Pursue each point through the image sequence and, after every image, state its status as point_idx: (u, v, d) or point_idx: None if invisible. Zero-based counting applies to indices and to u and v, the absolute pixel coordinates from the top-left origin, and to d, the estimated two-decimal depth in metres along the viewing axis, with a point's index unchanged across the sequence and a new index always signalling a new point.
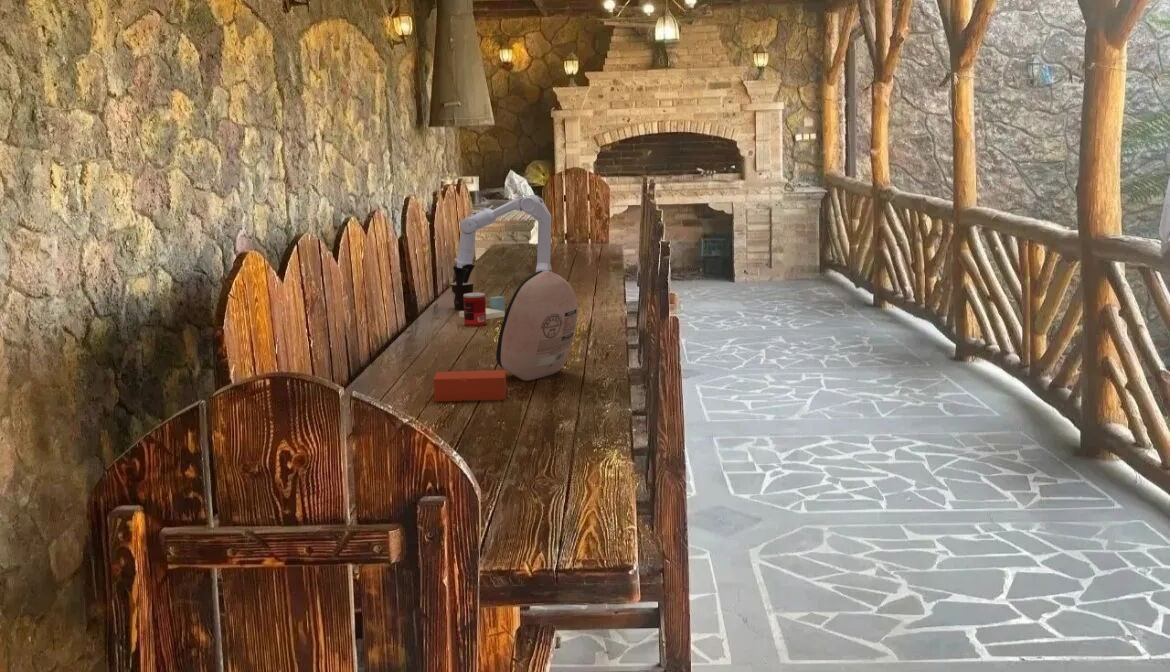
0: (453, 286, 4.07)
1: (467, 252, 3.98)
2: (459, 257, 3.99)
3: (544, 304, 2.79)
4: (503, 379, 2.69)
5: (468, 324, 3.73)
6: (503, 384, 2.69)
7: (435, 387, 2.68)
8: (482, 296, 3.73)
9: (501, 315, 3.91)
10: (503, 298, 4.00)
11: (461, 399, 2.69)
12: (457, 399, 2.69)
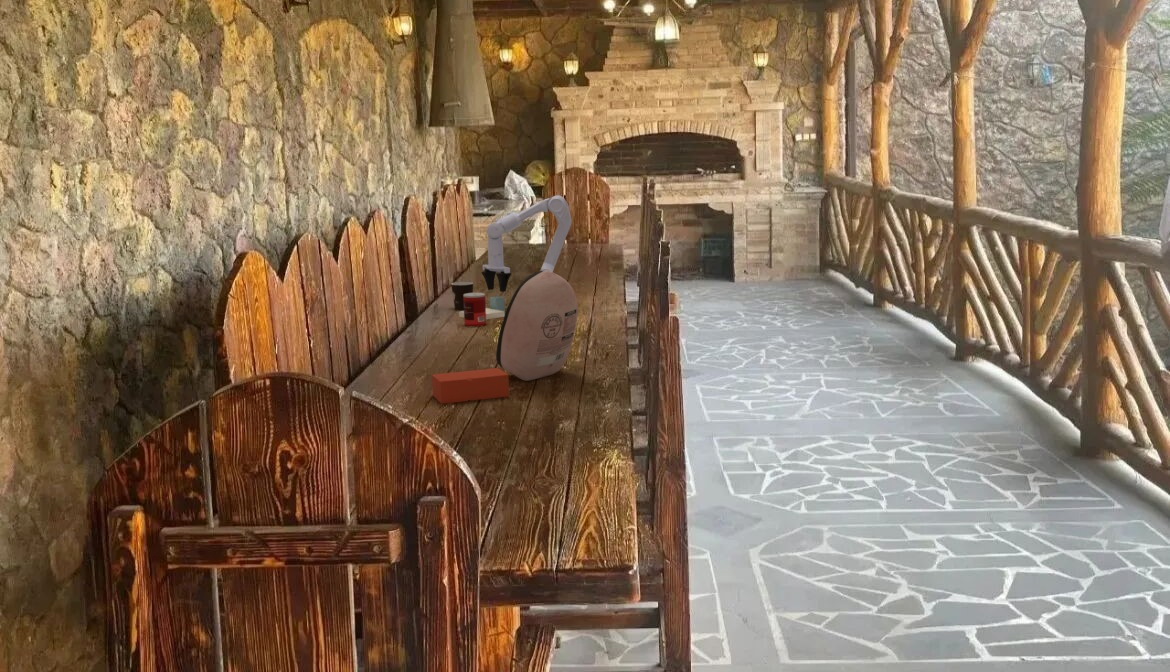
0: (453, 286, 4.07)
1: (502, 257, 3.96)
2: (496, 264, 3.95)
3: (544, 304, 2.79)
4: (507, 376, 2.72)
5: (468, 324, 3.73)
6: (507, 381, 2.72)
7: (442, 389, 2.66)
8: (482, 296, 3.73)
9: (501, 315, 3.91)
10: (503, 298, 4.00)
11: (467, 399, 2.69)
12: (463, 400, 2.68)
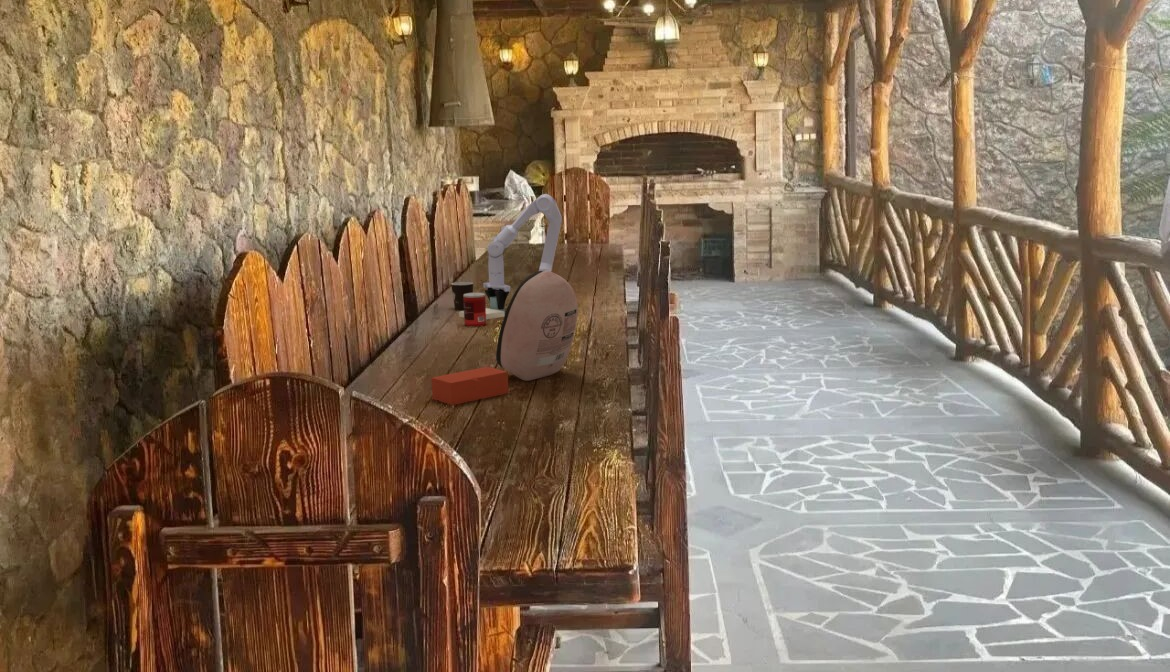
0: (453, 286, 4.07)
1: (503, 275, 3.98)
2: (496, 282, 3.96)
3: (544, 304, 2.79)
4: (507, 373, 2.75)
5: (468, 324, 3.73)
6: (507, 378, 2.76)
7: (452, 391, 2.64)
8: (482, 296, 3.73)
9: (501, 315, 3.91)
10: None
11: (474, 399, 2.69)
12: (471, 399, 2.68)
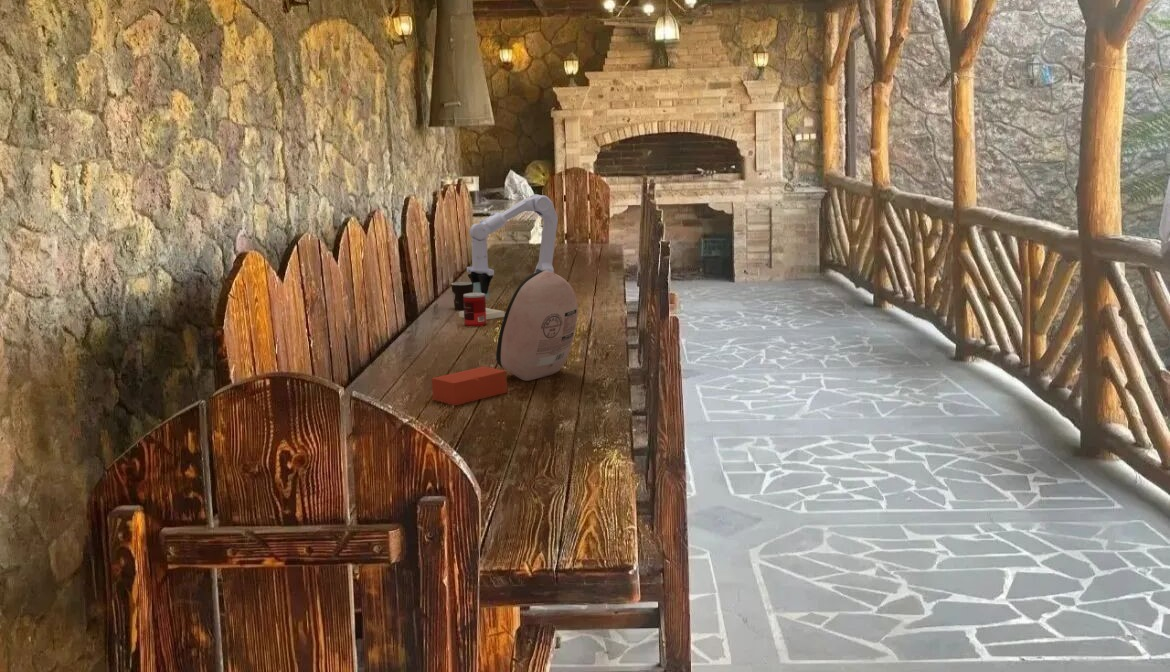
0: (453, 286, 4.07)
1: (486, 258, 3.88)
2: (480, 266, 3.87)
3: (544, 304, 2.79)
4: (506, 372, 2.76)
5: (468, 324, 3.73)
6: (506, 377, 2.77)
7: (456, 391, 2.64)
8: (482, 296, 3.73)
9: (501, 315, 3.91)
10: None
11: (475, 399, 2.69)
12: (473, 399, 2.69)
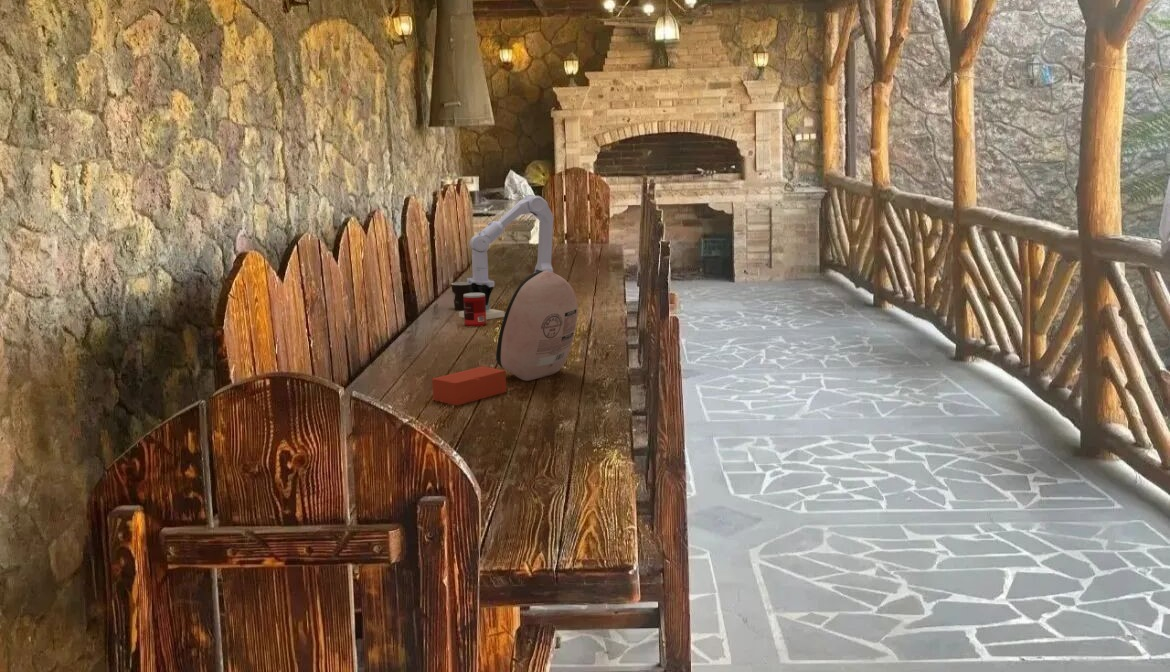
0: (453, 286, 4.07)
1: (487, 270, 3.89)
2: (480, 277, 3.87)
3: (544, 304, 2.79)
4: (505, 372, 2.77)
5: (468, 324, 3.73)
6: (505, 377, 2.77)
7: (457, 391, 2.64)
8: (482, 296, 3.73)
9: (501, 315, 3.91)
10: None
11: (476, 398, 2.69)
12: (473, 399, 2.69)
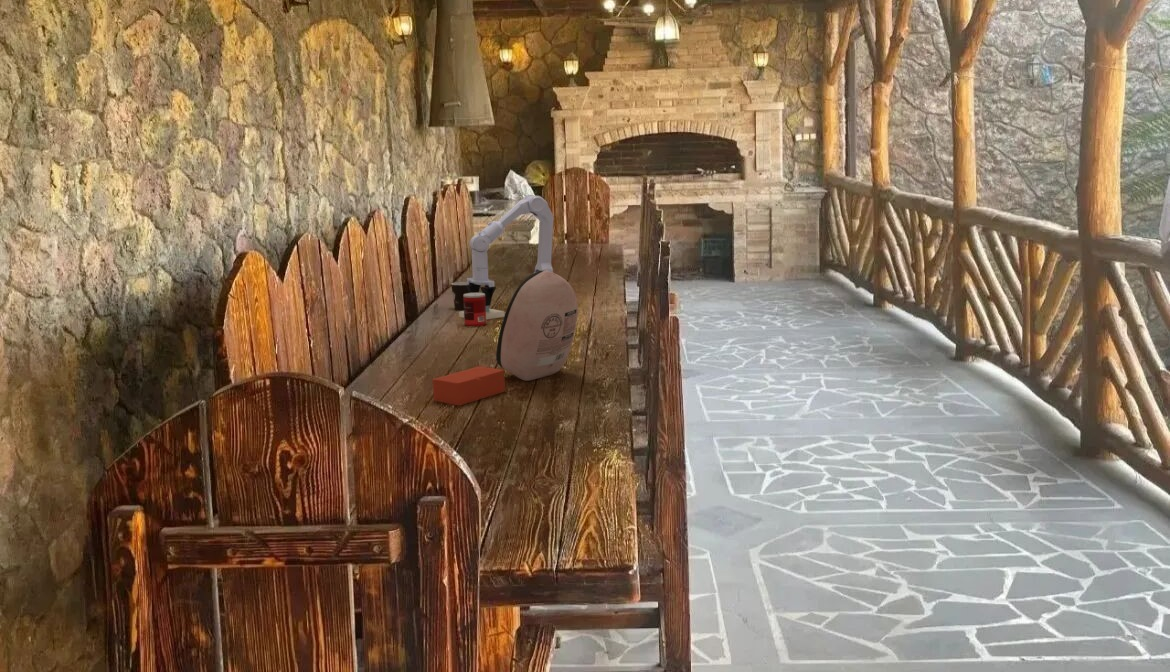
0: (453, 286, 4.07)
1: (487, 270, 3.89)
2: (480, 277, 3.87)
3: (544, 304, 2.79)
4: (504, 371, 2.77)
5: (468, 324, 3.73)
6: (504, 376, 2.78)
7: (459, 391, 2.64)
8: (482, 296, 3.73)
9: (501, 315, 3.91)
10: None
11: (477, 398, 2.70)
12: (475, 399, 2.69)
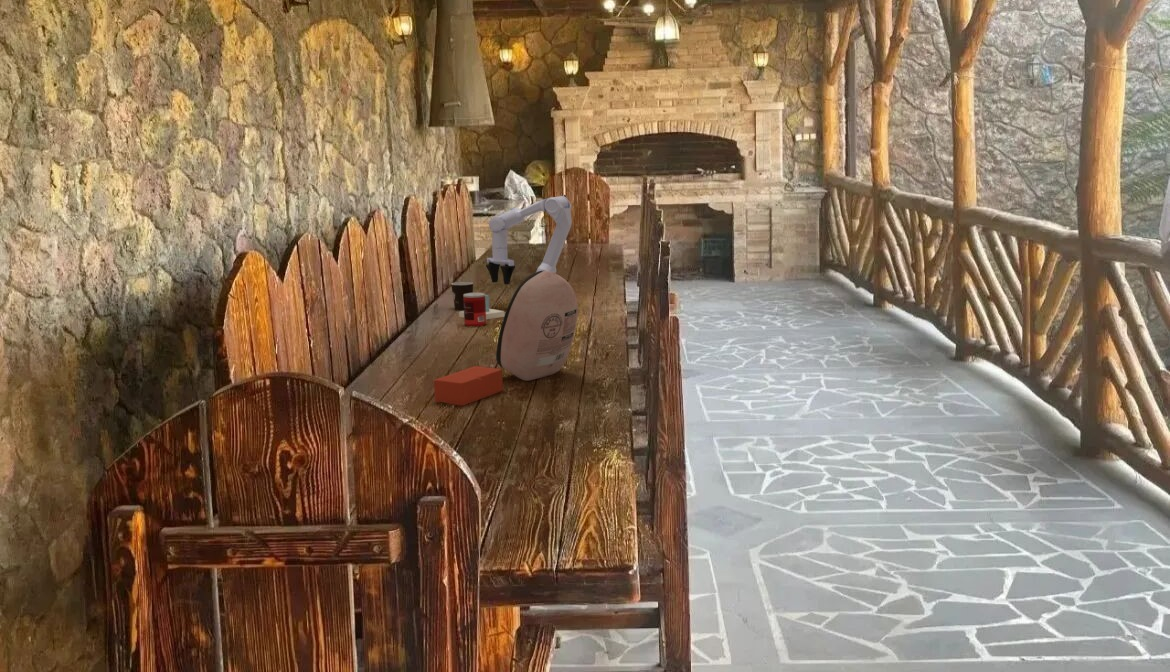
0: (453, 286, 4.07)
1: (506, 250, 4.02)
2: (500, 257, 4.01)
3: (544, 304, 2.79)
4: None
5: (468, 324, 3.73)
6: None
7: (463, 391, 2.64)
8: (482, 296, 3.73)
9: (501, 315, 3.91)
10: (487, 296, 3.91)
11: (479, 398, 2.70)
12: (476, 399, 2.69)
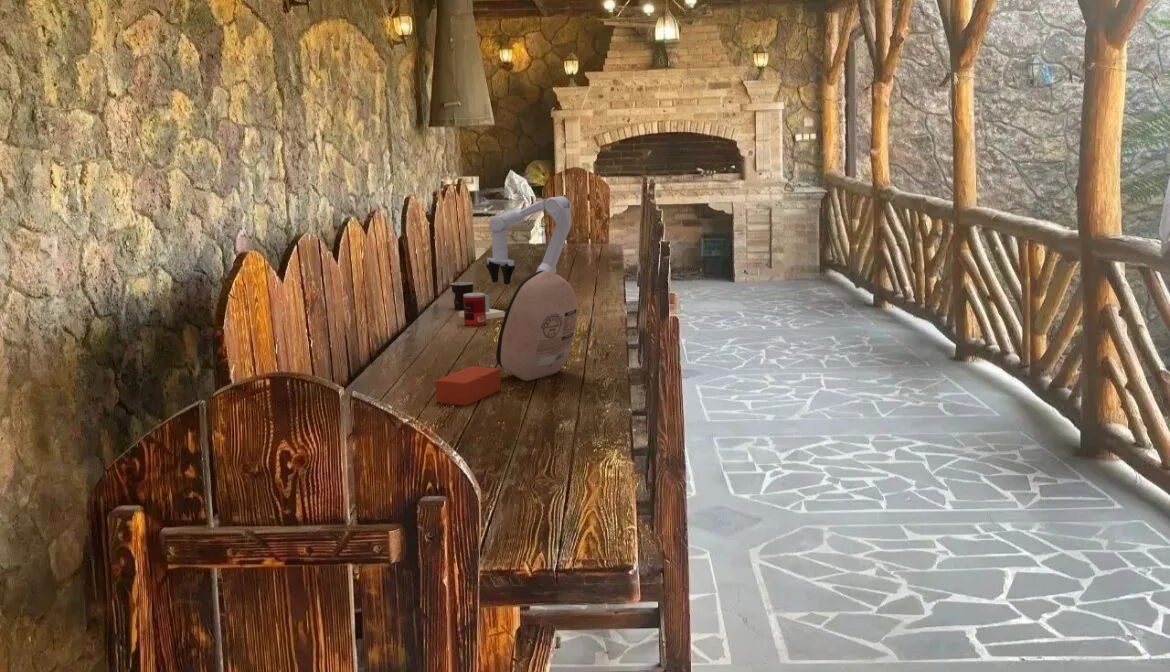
0: (453, 286, 4.07)
1: (506, 250, 4.02)
2: (500, 257, 4.01)
3: (544, 304, 2.79)
4: (499, 370, 2.79)
5: (468, 324, 3.73)
6: (499, 375, 2.79)
7: (466, 391, 2.64)
8: (482, 296, 3.73)
9: (501, 315, 3.91)
10: (487, 296, 3.91)
11: (480, 398, 2.70)
12: (478, 398, 2.69)
